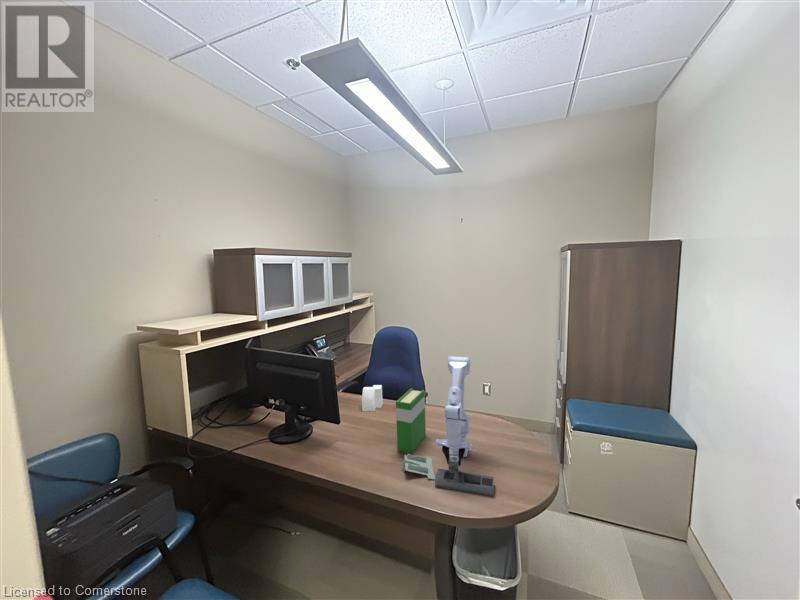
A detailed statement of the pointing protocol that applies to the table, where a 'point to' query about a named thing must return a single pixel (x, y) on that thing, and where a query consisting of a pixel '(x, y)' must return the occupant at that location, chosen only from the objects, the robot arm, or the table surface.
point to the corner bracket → (372, 398)
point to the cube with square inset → (454, 463)
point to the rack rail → (458, 478)
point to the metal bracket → (419, 465)
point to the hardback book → (410, 420)
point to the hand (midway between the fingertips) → (454, 463)
